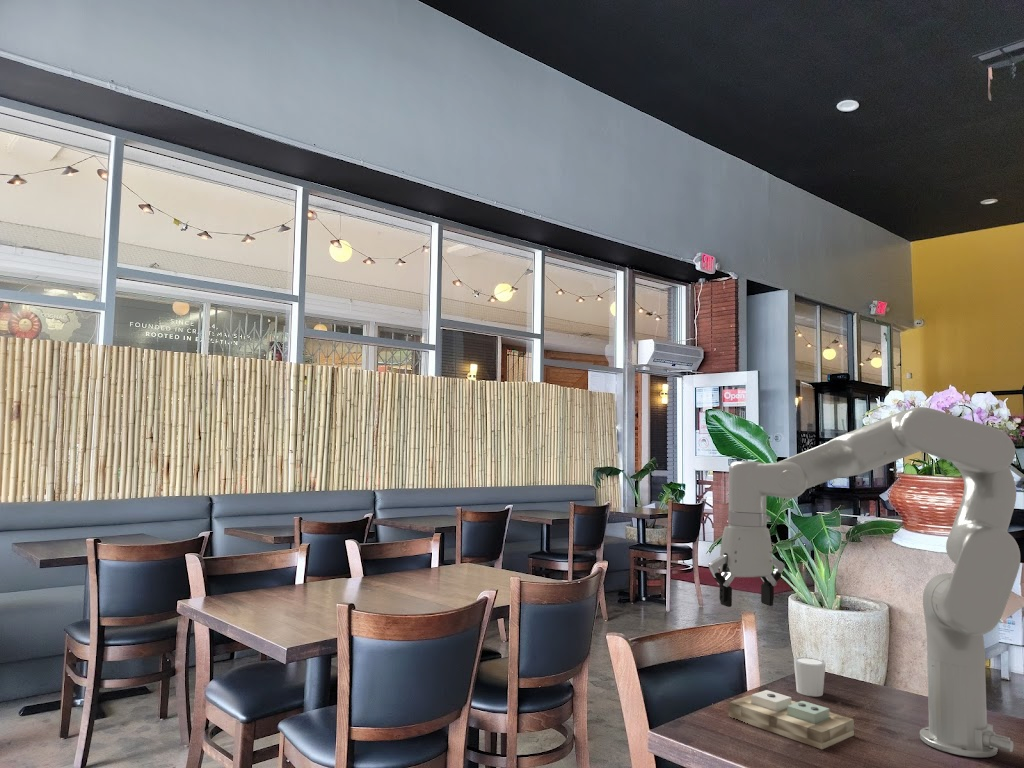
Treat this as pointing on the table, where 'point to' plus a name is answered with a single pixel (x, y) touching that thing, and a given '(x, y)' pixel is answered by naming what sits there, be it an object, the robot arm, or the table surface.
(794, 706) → the two dot tile
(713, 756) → the table surface
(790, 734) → the tile board
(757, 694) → the one dot tile
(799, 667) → the white cup
